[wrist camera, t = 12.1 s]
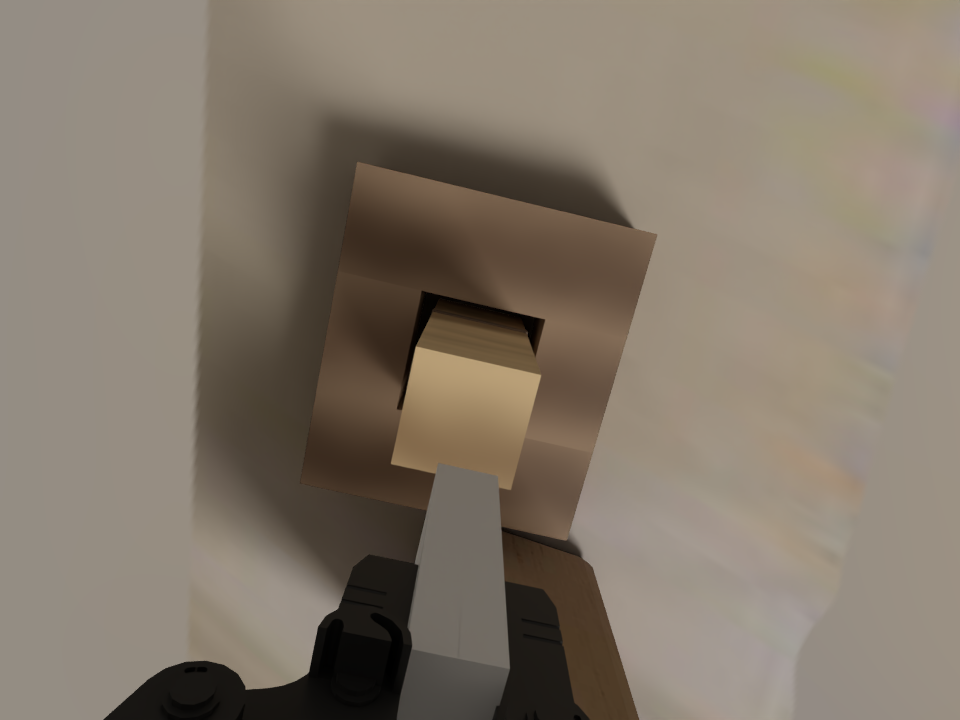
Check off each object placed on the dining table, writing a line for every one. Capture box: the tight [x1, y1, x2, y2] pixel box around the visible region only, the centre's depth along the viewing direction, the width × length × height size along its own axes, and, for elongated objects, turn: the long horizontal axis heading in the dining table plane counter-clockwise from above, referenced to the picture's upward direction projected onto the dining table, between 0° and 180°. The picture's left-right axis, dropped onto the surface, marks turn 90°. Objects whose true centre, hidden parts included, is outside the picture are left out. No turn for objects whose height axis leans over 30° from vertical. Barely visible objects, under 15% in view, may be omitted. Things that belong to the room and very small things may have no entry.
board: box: [300, 162, 657, 541], centre depth 32 cm, size 16×14×4 cm
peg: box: [391, 298, 541, 490], centre depth 28 cm, size 5×5×12 cm
